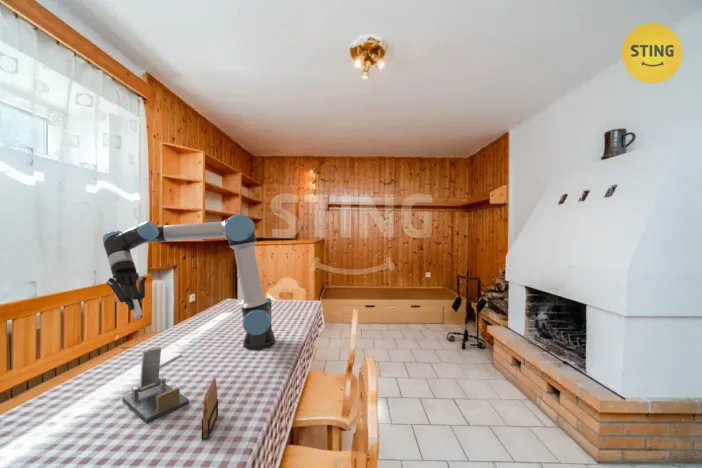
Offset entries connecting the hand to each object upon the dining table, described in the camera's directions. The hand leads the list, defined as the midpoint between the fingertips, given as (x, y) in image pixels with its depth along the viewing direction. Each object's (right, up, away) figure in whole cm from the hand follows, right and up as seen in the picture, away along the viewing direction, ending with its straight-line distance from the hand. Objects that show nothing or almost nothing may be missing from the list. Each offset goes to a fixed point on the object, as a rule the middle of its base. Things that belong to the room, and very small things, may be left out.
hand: (138, 316), depth 107 cm
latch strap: (+10, -21, -9) cm, 25 cm away
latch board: (+14, -25, -12) cm, 31 cm away
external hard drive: (-4, -26, +19) cm, 32 cm away
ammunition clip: (+38, -25, -23) cm, 51 cm away
